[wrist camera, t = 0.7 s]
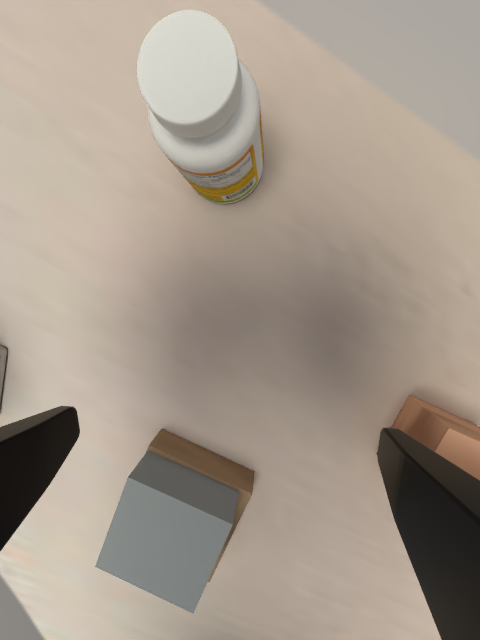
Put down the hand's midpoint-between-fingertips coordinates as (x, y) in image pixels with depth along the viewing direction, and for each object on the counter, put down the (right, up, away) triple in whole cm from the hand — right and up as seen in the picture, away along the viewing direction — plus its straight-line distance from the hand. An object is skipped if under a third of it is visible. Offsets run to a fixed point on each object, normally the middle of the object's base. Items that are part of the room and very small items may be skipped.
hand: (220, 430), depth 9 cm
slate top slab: (-4, -11, +13) cm, 17 cm away
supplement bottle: (0, +14, +12) cm, 19 cm away
